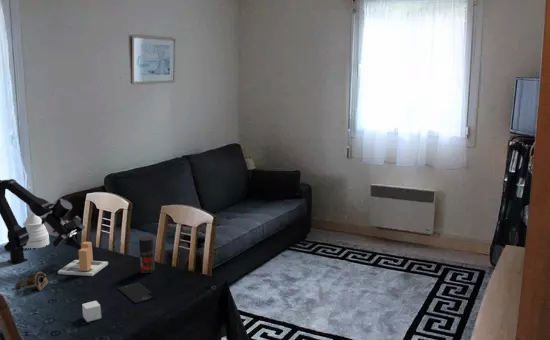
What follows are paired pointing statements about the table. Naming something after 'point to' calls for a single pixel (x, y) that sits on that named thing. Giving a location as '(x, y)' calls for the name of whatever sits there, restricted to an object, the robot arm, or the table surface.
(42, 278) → the brown ringed piece
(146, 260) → the deodorant
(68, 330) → the table surface
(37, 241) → the honey pot
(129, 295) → the cell phone
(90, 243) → the tab
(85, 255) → the tab
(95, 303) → the white cube
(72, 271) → the switch bank
